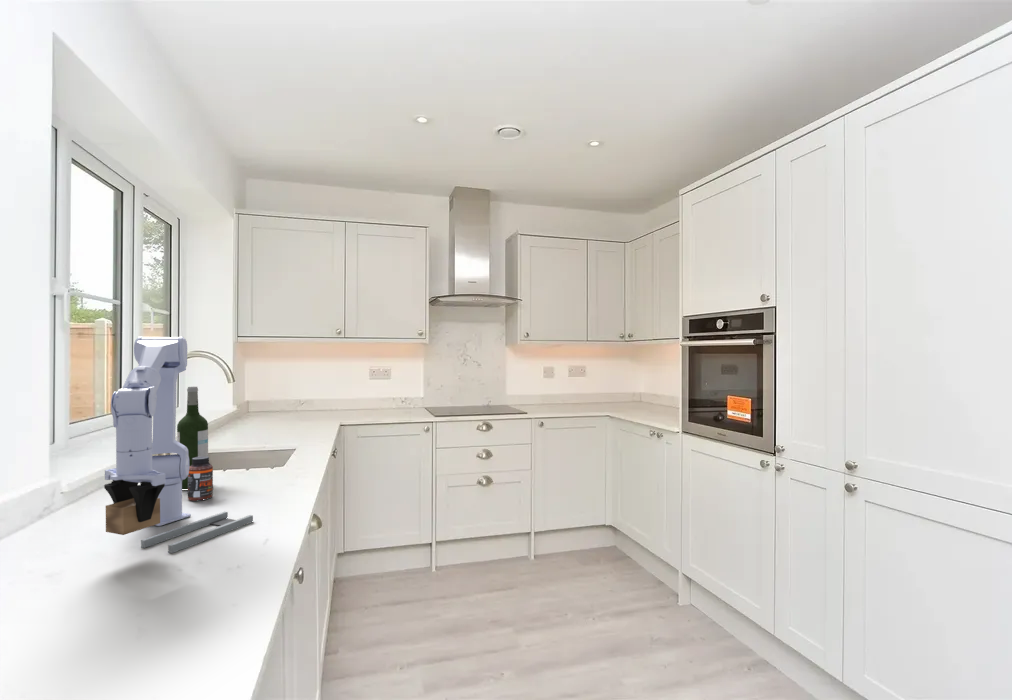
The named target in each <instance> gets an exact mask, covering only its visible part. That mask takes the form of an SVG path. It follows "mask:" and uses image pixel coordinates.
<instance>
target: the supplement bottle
mask: <svg viewBox="0 0 1012 700" xmlns="http://www.w3.org/2000/svg"><path fill="white" fill-rule="evenodd" d="M213 473H214V466H213V465H212V464H211V463H210V457H209V456H208V457H207V456H201V457H195V458H192V465H191V466H190V467H189V474H188V490H187V499H188V500H189V501H191V502H198V501H197V500H201V501H204V500H203V499H206V500H208V499H207V498H209V499H211V498H212V497H213V495H214V494H213V492H214V491H213V490H214V486H213V485H214V484H213V483H214V482H213V481H214V474H213ZM210 497H211V498H210Z"/></svg>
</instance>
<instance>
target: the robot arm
mask: <svg viewBox="0 0 1012 700" xmlns="http://www.w3.org/2000/svg"><path fill="white" fill-rule="evenodd" d="M187 341H188V340H187V339H186V338H185V337H184V336H171V337H170V336H138V337H137V338H136V339H135V341H134V344H133V356H134V359H135V361H136V362H137V364H138V366H137V367H134V368H133V369H131V370H130V372H129V373H128V376H127V378H126V379H125V381H124V384H123V386H122V388H119V389H117V391H113V393H112V394H111V400H110V410H111V416H112V421H113V422H112V423H113V428H115V440H116V441H115V449H116V450H115V451H116V452H115V457H116V458H115V460H116V461H115V462H116V464H115V467H116V468H115V467H113V468H109V469H105V470H104V480H105V481H111V482H110V483H106V484H104V485H103V486H104V489H105V491H106V492H107V494H108V495H109V496H110V499H111V500H112V502H113V503H112V504H114V503H118V502H121V501H125V500H129V499H133V498H134V501H135V505H136V514H137V519H138V522H143V521H146V520H150V519H151V517H152V513H153V510H154V506H155V503H156V500H157V498H160V523H159V524H156V525H155V526H157V527H161V526H163V525H167V524H171V523H173V522H177V521H179V520H182V519H186V518H189V517H191V513H187V512H186V513H185V512H183V490H182V480H183V479H186V477H187V476H188V474H189V456H188V449H187V447H186V446H184V445H183V444H181V443H179V442H178V441H177V439H176V430H177V427H176V426H177V424H176V422H177V421H176V420H177V419H176V418H177V414H176V413H177V380H178V377H179V375H180V373H182V372H185V371H186V370H187V366H188V343H187ZM158 454H159V455H158Z"/></svg>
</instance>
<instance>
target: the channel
mask: <svg viewBox="0 0 1012 700" xmlns="http://www.w3.org/2000/svg"><path fill="white" fill-rule="evenodd" d="M228 513H229V511H221V512H219V513H215V514H214V515H210V516H208V517H204V518H201V519H198V520H196V521H193V522H190V523H187V524H184V525H181V526H178V527H175V528H173V529H170V530H166V531H164V532H161V533H158V534H155V535H152V536H149V537H146V538H143V539H141V540H140V548H142V549H145V548H148V547H152V546H154V545H157V544H159V543H162V542H165V541H167V540H171V539H173V538H177V537H179V536H181V535H185V534H187V533H191V532H193V531H195V530H199V529H201V527H202V528H204V527H208V526H209V524H210V526H214V525H216V526H215V527H214V528H211V529H208V530H206V531H203V532H200V533H197V534H194V535H191V536H190V537H189V536H188V537H186V538H183V539H181V540H178V541H175V542H173V543H170V544H168V547H167V548H168V551H167V553H169V554H174V553H176V552H178V551H181V550H184V549H186V548H189V547H191V546H193V545H198V544H199V543H201V542H202V543H203V542H204V540H205V541H208V540H209V539H212V538H215V537H217V535H218V536H220V535H222V533H223V534H226V533H227V531H228V532H230V531H233V530H236V529H238V528H241V527H242V525H243V526H245V525H244V524H246V525H248V524H247V523H249V524H251V523H253V522H254V515H252V514H249V515H248V514H247V515H246V516H244V517H243V516H242V517H240V518H238V519H234V518H233V519H231V518H227V517H229V516H228V515H229V514H228ZM226 518H227V519H226ZM252 521H253V522H252ZM250 522H251V523H250ZM240 526H241V527H240ZM237 527H238V528H237ZM235 528H236V529H235ZM232 529H233V530H232ZM219 534H220V535H219Z"/></svg>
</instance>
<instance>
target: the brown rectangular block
mask: <svg viewBox="0 0 1012 700" xmlns="http://www.w3.org/2000/svg"><path fill="white" fill-rule="evenodd" d="M159 523H160V498H157V500H156V503H155V506H154V510H153V513H152V517H151V519H150V520H146V521H143V522H138V519H137V514H136V505H135V501H134V498H133V499H129V500H125V501H121V502H118V503H111V504H106V505H105V532H106V533H110V534H116V535H121V536H126V535H129V534H131V533H135V532H138V531H140V530H143V529H147V528H149V527H153V526H156V524H159Z"/></svg>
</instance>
